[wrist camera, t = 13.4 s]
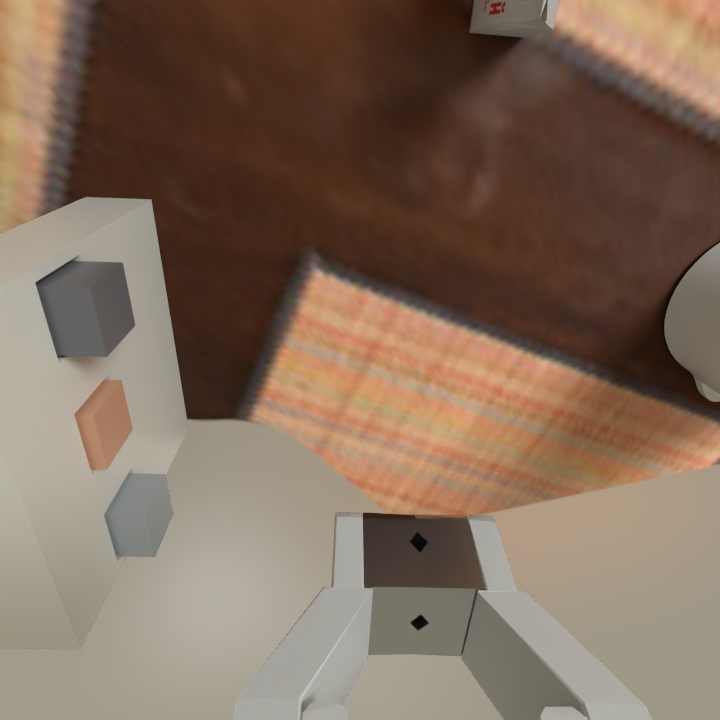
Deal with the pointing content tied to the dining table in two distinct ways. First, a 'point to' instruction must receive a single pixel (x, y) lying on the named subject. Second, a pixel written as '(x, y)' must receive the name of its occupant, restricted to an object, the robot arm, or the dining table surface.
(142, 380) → the control panel
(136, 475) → the slate grey button
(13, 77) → the dining table surface
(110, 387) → the terracotta button
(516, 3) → the white carton box
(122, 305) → the charcoal button
